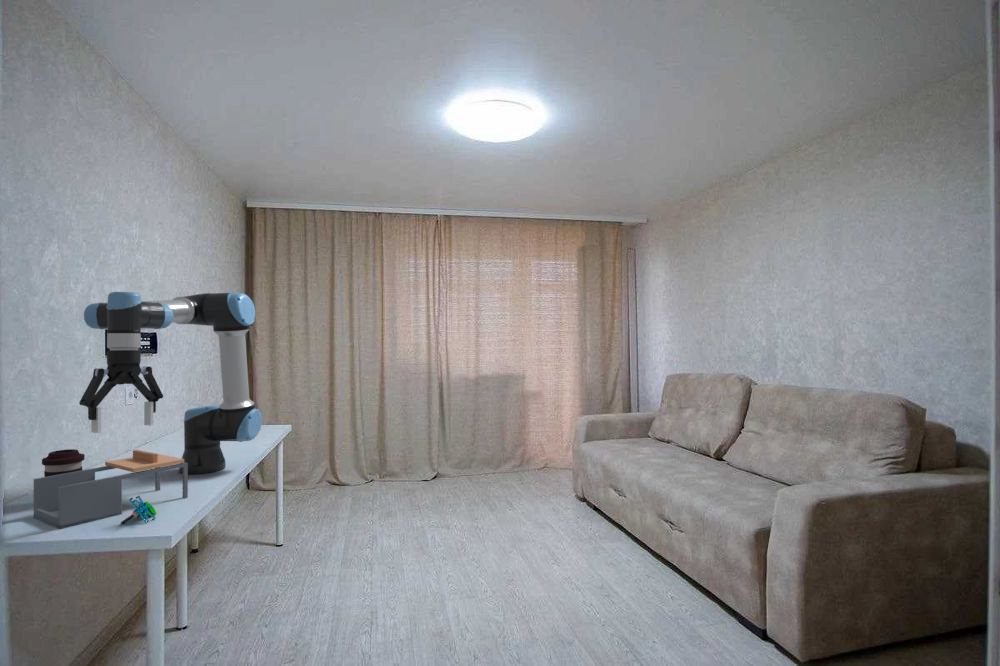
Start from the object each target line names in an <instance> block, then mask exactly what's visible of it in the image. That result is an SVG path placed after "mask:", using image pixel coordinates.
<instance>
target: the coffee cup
mask: <svg viewBox="0 0 1000 666" xmlns="http://www.w3.org/2000/svg"><path fill="white" fill-rule="evenodd" d="M85 456H86V455H85V454H83V453H80V452H79V449H74V448H73V449H71V448H70V449H69V448H68V449H59V450H55V451H54V450H53V451H51V452H48V455H47V456H45V457H43V458H42V459H41V466H44V472H43V474H44V476H43V477H48V476H53V475H59V474H64V473H70V472H76V471H81V470H83V461H85Z"/></svg>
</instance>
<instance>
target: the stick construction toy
mask: <svg viewBox="0 0 1000 666" xmlns="http://www.w3.org/2000/svg"><path fill="white" fill-rule="evenodd" d="M133 499H134V498H133V497H131V498H129V499H128V502H129V503H131V505H132V506H133V507H134V510H132V514H131V515H130V516H128V517H127V518H125V519H124V520H121V522H120V524H121V525H124V524H127V522H129V521H130V520H132V519H133V518H137V519H138V518H140V517H141V519H142V521H143V522H144V524H147V523H149V522H150V520H149V519H150V518H152V519H151V521H152V520H153V521H154V520H156V515H157V511H156V509H155V507H154V506H153V505H152V504H151V503H150V502H148V501H143V499H142V498H141V496H140V495H137V496H136V497H135V499H134V500H133ZM137 499H138V500H137ZM135 503H137V505H136V504H135ZM148 518H149V519H148Z"/></svg>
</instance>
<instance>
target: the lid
mask: <svg viewBox="0 0 1000 666" xmlns="http://www.w3.org/2000/svg"><path fill="white" fill-rule="evenodd" d="M180 463H184V459H182V457H175V456H170V455H166V454H161V453H154V452H150V451H145V450H141V449H140V450H139V449H134V450H132V456H131V457H126V458H125V457H124V458H120V459H114V460H113V459H112V460H109V461H105V462H104V466H110V467H114V468H115V469H120V470H122V471H123V470H124V471H127V472H130V473H134V472H139V471H144V470H150V469H155V468H158V467H165V466H170V465H175V464H180Z"/></svg>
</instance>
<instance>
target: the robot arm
mask: <svg viewBox="0 0 1000 666" xmlns="http://www.w3.org/2000/svg"><path fill="white" fill-rule="evenodd" d="M255 318H256V307H255V306H254V302H253V300H252V299H251V298H250V297H249V296H248V295H247V294H245V293H241V292H233V291H232V292H219V293H213V292H212V293H209V292H206V293H204V292H203V293H198V294H193V295H186V296H176V297H174V298H173V299H168V300H167V299H166V300H165V299H164V300H148V301H147V300H142V296H141V293H138V292H133V291H132V292H131V291H112V292H110V293H109V294H108V295H107V302H97V303H96V302H95V303H91V304H88V305H87V306H86V307H85V309H84V312H83V320H84V322H85V324H86V325H87V326H88V327H89V328H91V329H95V330H96V329H97V330H107V331H106V335H107V336H106V348H107V349H109V350H107V351H106V364H107V367H106V369H105V368H103V367H102V368H99V367H97V368H96V367H95V368H94V369H93V373H92V378H91V380H90V381H89V383H88V386H87V388H86V389H85V391H84V393H83V395H82V396H81V398H80V400H79V405H80V406H84V407H86V408H87V419H88V421H90V422H91V423H90V424H91V425H90V428H91V429H90V430H91V431H90V433H95V434H100V433H102V406H99V405H100V404H101V402H102V401H103V400H104V399H105V398H106V397H107V395H108V394H109V393H110V392H111V391H112V390H113V388H115V387H117V385H120V386H121V385H133V386H134V387H135V388H136V389H137V390H138V391H139V392H140V394H141V395H142V396H143V397H144V398H145V399H146V400H147V401H144V403H143V404H144V408H143V409H144V415H143V416H144V419H143V420H144V421H143V422H144V423H143V424H144V426H154V414H155V413H156V411H157V402H158V401H159V400H160V399H163V397H164V395H163V392H162V390H161V389H160V386H159V384H158V383H157V381H156V378H155V377H154V375H153V368H152V366H145V365H144V366H142V367H141V366H140V364H141V363H142V362H141V359H142V358H141V355H142V354H141V350H140V348H141V347H142V343H141V341H142V339H141V334H142V333H141V332H142V331H141V330H142V329H145V330H147V329H152V330H159V329H166V328H168V327H170V325H171V324H172V323H175V324H177V325H196V326H209V327H210V326H212V329H213V333H214V334H216V335H217V336H218V343H219V357H220V358H219V359H220V361H219V362H220V372H221V373H220V374H221V385H222V386H221V389H222V399H223V402H222V403H221V404H215V405H205V406H200V407H195V408H190V409H187V410H186V411H185V412H184V418H183V423H184V425H183V427H184V429H183V433H184V436H183V438H184V441H183V443H184V446H183V447H184V451H183V453H182V455H181V459H184V463H188V475H197V474H198V475H199V474H208V473H213V472H218V471H220V470H224V469H226V465H227V464H226V458H225V457H224V453H223V450H222V448H221V442H238V443H239V442H240V443H242V442H250V441H252V440H255V438H256V437H257V436H258V435H259V433H260V431H261V427H262V425H263V415H262V412H261V410H259V409H258V408H255V407H256V406H255V402H254V401H253V400H252V399H251V398H250V387H249V374H248V372H249V371H248V361H247V360H248V357H247V343H246V341H247V340H246V334H247V333H248V331H250V326H251V325H253V324H254V322H255ZM140 374H141V375H142V377H143V379H144V381H145V383H146V384H145V383H144V382H143V380H142V379H141V377H140ZM106 376H107V379H106V380H105V381H104V383H103V385H102V382H103V379H104V377H106ZM101 385H102V386H101ZM100 386H101V387H100ZM99 387H100V388H99ZM178 473H179V474H183V467H181V468H178Z"/></svg>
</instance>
